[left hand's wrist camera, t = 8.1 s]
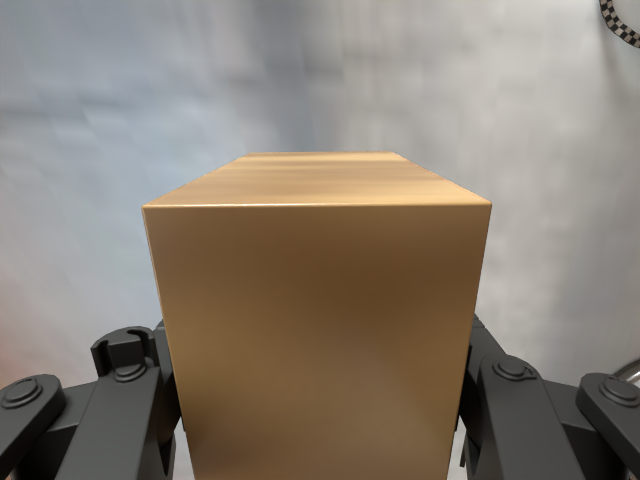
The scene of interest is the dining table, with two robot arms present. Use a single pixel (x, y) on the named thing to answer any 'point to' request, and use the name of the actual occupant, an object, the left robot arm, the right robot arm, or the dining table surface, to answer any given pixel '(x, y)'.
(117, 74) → the dining table surface
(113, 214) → the dining table surface
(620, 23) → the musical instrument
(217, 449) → the post
